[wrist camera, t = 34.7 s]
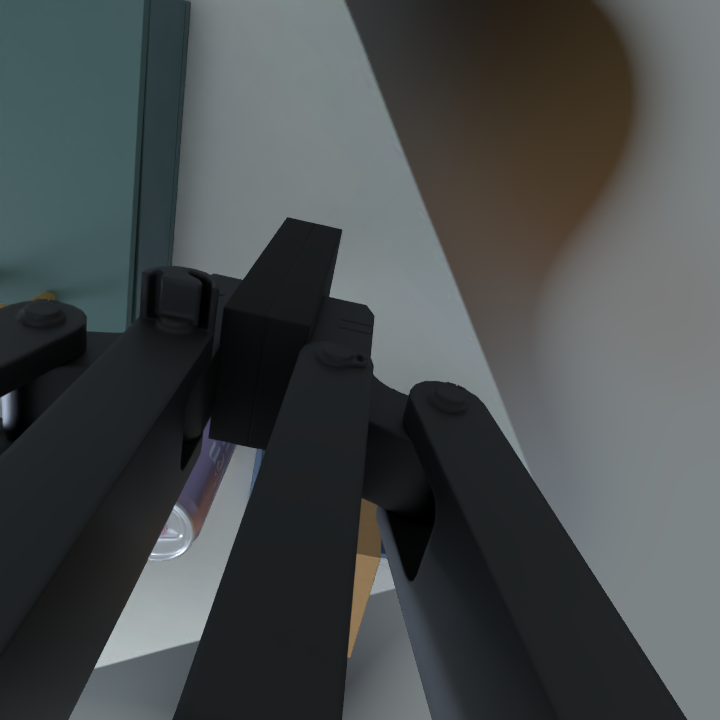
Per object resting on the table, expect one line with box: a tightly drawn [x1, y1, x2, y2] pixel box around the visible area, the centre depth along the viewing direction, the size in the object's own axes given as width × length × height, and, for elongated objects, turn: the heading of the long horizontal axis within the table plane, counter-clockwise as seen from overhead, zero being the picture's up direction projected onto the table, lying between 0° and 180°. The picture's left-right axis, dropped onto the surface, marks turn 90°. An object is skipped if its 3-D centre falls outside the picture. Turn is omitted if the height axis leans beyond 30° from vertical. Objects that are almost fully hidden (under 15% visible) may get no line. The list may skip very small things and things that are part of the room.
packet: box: [347, 498, 381, 658], centre depth 48 cm, size 6×10×14 cm, turn 168°
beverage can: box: [148, 417, 237, 561], centre depth 46 cm, size 6×6×15 cm
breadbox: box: [131, 0, 190, 324], centre depth 40 cm, size 20×15×7 cm
